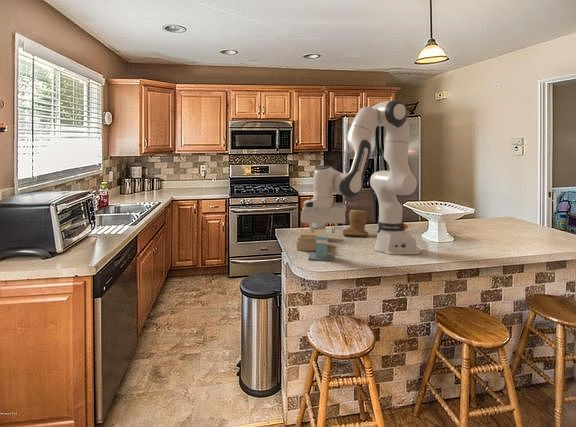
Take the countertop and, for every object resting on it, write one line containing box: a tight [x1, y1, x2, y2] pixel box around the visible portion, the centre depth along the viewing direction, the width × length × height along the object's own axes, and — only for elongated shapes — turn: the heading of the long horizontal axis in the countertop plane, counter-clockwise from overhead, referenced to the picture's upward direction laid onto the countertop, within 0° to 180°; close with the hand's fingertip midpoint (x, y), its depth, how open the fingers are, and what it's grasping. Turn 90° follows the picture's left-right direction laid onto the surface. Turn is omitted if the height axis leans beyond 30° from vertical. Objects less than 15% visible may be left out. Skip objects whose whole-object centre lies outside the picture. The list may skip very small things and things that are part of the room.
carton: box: [296, 228, 327, 252], centre depth 196 cm, size 14×20×7 cm
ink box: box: [311, 223, 327, 230], centre depth 213 cm, size 8×5×12 cm, turn 141°
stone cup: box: [342, 209, 369, 237], centre depth 223 cm, size 15×12×15 cm
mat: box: [307, 251, 334, 262], centre depth 178 cm, size 11×11×1 cm
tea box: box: [315, 234, 329, 258], centre depth 178 cm, size 5×6×9 cm
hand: (323, 232), depth 177 cm, fingers open, 8 cm apart
